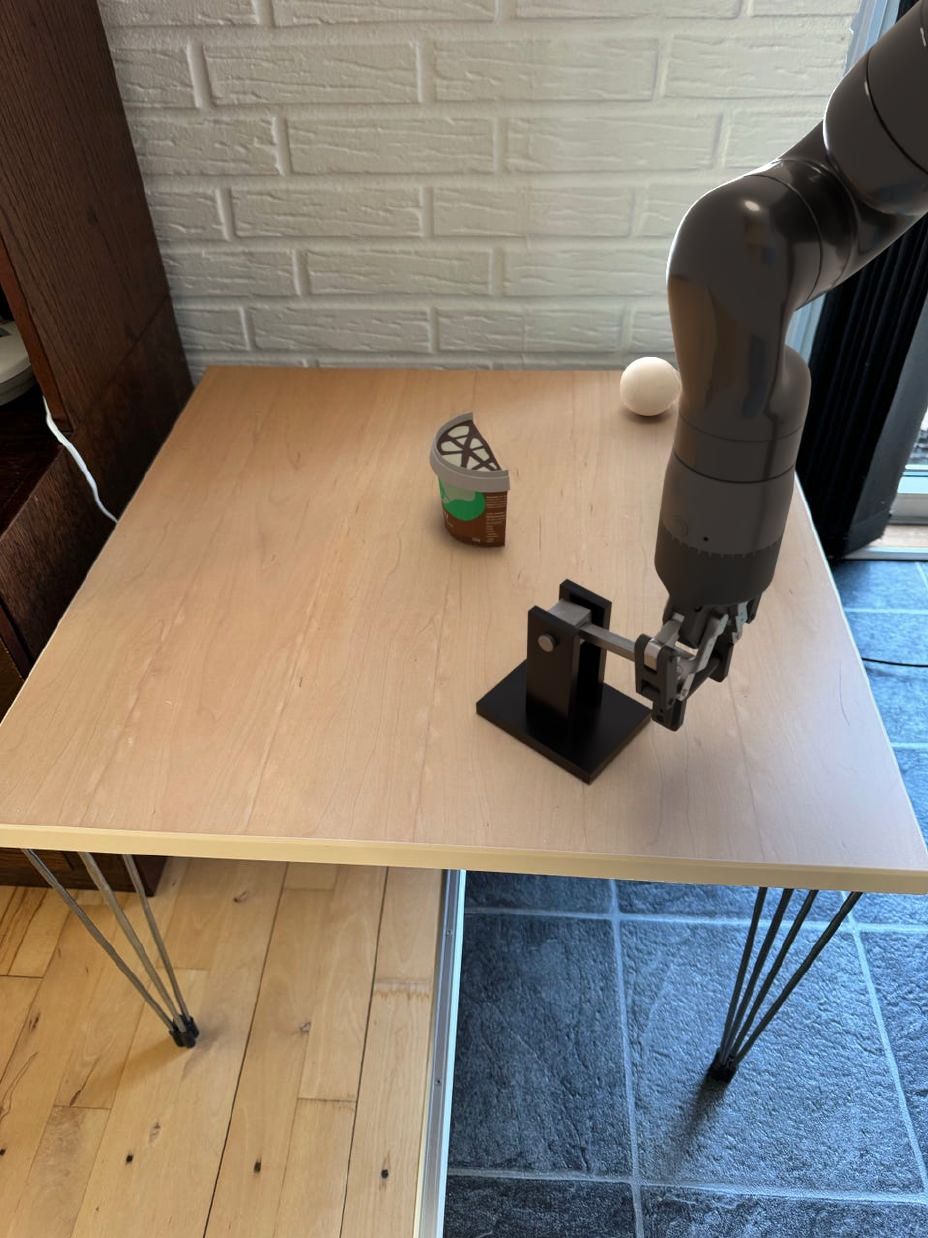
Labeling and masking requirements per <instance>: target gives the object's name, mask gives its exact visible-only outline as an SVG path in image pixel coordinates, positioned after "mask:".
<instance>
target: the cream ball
mask: <svg viewBox="0 0 928 1238" xmlns="http://www.w3.org/2000/svg"><path fill="white" fill-rule="evenodd" d="M680 389H681V380H680V375H679V372H678V371H677V369H675V368H674V367H673V366H672V365H671V364H670V362H668V361H666V360H665V359H663V358H659V357H655V356H645V357H641V358H638V359H636V360H634V361H633V362H631V363H630V364H629V365H628V366H627V367H626V368H625V369H624V371H623V373H622V375H621V378H620V382H619V392H620V393H619V394H620V397H621V400H622V402H623V403H624V405H625V406H626V407H627V409H628V410H629V411H631V412H633V413H634V414H637V415H640V416H646V417H647V416H648V417H649V416H650V417H652V416H657V415H660V414H662V413H664V412H665V411H667V410H668V409H669V408H670V407H672V405H673V404H674V402H675V400H676V399H677V397H678V395H679V394H680Z"/></svg>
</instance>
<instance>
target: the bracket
mask: <svg viewBox="0 0 928 1238" xmlns="http://www.w3.org/2000/svg"><path fill="white" fill-rule="evenodd" d="M558 586H559V587H558V601H557V602H559V601H560V600H561V599H562V598H563V599H565V600H568V601H570V602H572V603H575V604H577V605H579V606H582V607H584V608H587V609H589V610H591V618H592V624H594V625H597V626H599V627H601V628H604V629H606V630H608V631H610V627H611V618H612V607H613V602H612V601H611V600H610V599H607V598H606V597H603V596H601V595H600V594H597V593H595V592H594V591H592V590H590V589H588V588H587V587H585V586H583V585H580V584H579V583H576V582H574V581H573V580H571V579H569V578H565V579H564V580H563V581H562V582H560V584H559V585H558ZM526 622H527V625H526V626H527V627H526V658H525V659H523V661H521V663H519V664H518V665H517V666H516V667H515V668H514V669H513V670H511V671H510V672H509V673H507V675H506V676H504V677H503V678H502V679H501V680H500V681H498V683H497V684H495V685H494V686H493V687H492V688H490V690H489V691H488V692H486V693H485V694H484V695H483V696H482V697H481V698H480V699H478V700H477V701H476V702H475V712H476V714H478V715H479V716H480V717H482V718H483V719H485V720H487V721H489V722H490V723H491V724H493V725H495V726H496V727H498V728H499V729H501V730H503V731H504V732H505V733H507V734H509V735H510V736H512V737H514V738H515V739H517V740H518V741H520V742H521V743H523V744H525V745H526V746H527V747H529V748H531V749H532V750H534V751H535V752H537V753H538V754H540V755H542V756H543V757H545V758H546V759H548V760H550V761H551V762H552V763H554V764H555V765H557V766H559V767H561V768H562V769H564V771H566V772H568V773H570V774H571V775H573V776H575V778H577V779H579V780H580V781H582V782H584V783H585V784H587V785H591V783H593V781H594V780H596V778H597V777H598V776H599V775H600V774H601V772H603V771H604V770H605V769H606V767H607V766H609V764H611V762H612V761H613V760H614V759H615V758H616V757H617V756H618V755H619V754H620V753H621V752H622V751H623V750H624V749H625V748H626V746H628V745H629V743H630V742H631V741H633V739H634V738H635V737H636V736H637V735H638V734H639V733H640V732H641V731H642V730H643V729H644V728H645V727H646V726H647V725H648V724H649V722H651V721H652V718H651V712H652V708H650V707H648V706H646V705H645V704H643V703H641V702H640V701H638V700H636V699H635V698H632V697H631V696H629V695H628V694H626V693H624V692H622V691H620V690H619V689H617V688H616V687H614V686H611V685H610V684H608V683H606V682H605V675H606V666H607V657H608V650H606V649H603V648H601V647H599V646H597V645H594V644H592V643H590V642H587V641H584V642H583V643H582V644H581V645H580V639H581V629H579V628H577V627H575V626H573V625H571V624H570V623H568V622H566V621H564V620H562V619H560V618H559V617H557V616H555V615H553V614H551V613H549V612H548V610H546V609H544V608H542V607H541V606H539V605H537V604H534V605H533V606H532V607H530V609H528V611H527V621H526Z"/></svg>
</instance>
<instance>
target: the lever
mask: <svg viewBox="0 0 928 1238" xmlns="http://www.w3.org/2000/svg"><path fill="white" fill-rule="evenodd" d="M558 601H559V600H558ZM558 601H557V602H556V603H555V604H554V605H553V606H551V607H550V608H549V609H548V610H547V611H548V612H549V613H551V614H553V615H555V616H557V617H559V618H560V619H562V620H564V621H566V622H568V623H570V624H571V625H573V626H575V627H577V628H579V629H581V639H580V645H581V644H582V643H583V642H584V641H587V642H590V643H592V644H594V645H597V646H599V647H601V648H603V649H606V650H607V652H610V653H613V654H614V655H617V656H619V657H621V658H624V659H625V660H627V661H630V662H632V663H635V660H634V645H635V642H636V641H634V640H631V639H629V638H627V637H624V636H622V635H620V634H618V633H615V632H613V631H611V630H609V631H608V630H606V629H604V628H601V627H599V626H597V625H594V624H592V618H591V610H589V609H587V608H584V607H582V606H579V605H577V604H575V603H572V602H570V601H568V600H565V599H563V598H562V599H561V600H560V601H559V602H558ZM721 663H722V657H721V655H720V653H719V652H718V651H717V650H715V649H712V652H711V654H710V657H709V659H708V662H707V665H706V667H705V668H704V669H702V670H700V671H698V672H696V673H695V676H694V678H693V681H692V683H691V686H690V689H689V693H688V698H687V700H689V698H691V696H692V695H693V694H695V692H696V691H697V690H698V689H700V687H701V686H702V685H703V683H704V682H705V681H706V680H707V679H709V676H710V675H711V674H712V673H713V672H714V671H715V669H716V668H717V667H718V666H719V665H720V664H721ZM681 675H682V669H681V668H680V667H679V666H677V679H678V680H680V677H681Z"/></svg>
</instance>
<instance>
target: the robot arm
mask: <svg viewBox="0 0 928 1238" xmlns="http://www.w3.org/2000/svg"><path fill="white" fill-rule="evenodd" d="M927 213H928V0H918V1H917V2H916V3H915V4H914V5H913V6H912V7H911V8H910V9H909V10H908V11H906V13H905V14H904V15H903V16H901V17H900V18H899V20H897V21H896V23H894V25H892V26H891V27H890V28H889V29H888V30H887V31H886V32H885V33H884V34H883V35H882V36H881V37H880V38H879V39H878V40H877V41H876V42H875V43H874V44H873V45H872V46H870V47H869V49H868V50H866V52H865V53H864V54H863V55H862V56H861V57H860V58H859V59H858V60H857V61H856V63H854V64H853V66H851V68H850V69H849V70H848V71H847V72H846V73H845V75H844V76H843V77H842V79H841V80H840V81H839V82H838V83H837V85H836V87H835V88H834V90H833V91H832V93H831V95H830V97H829V100H828V102H827V104H826V108H825V112H824V116H823V118H822V119H821V120H820V121H818V123H816V124H815V126H814V127H813V128H812V129H810V131H809V132H807V133H806V134H805V135H804V136H803V137H802V138H801V139H800V140H798V141H797V142H796V143H794V144H793V145H792V146H791V147H790V148H789V149H787V150H786V151H785V152H783V153H782V154H781V155H779V156H778V157H776V158H775V159H774V160H772V161H771V162H769V163H767V164H764V165H762V166H760V167H758V168H756V169H754V170H752V171H749V172H748V173H745V174H743V175H740V176H738V177H736V178H733V179H732V180H730V181H728V182H725V183H723V184H721V185H719V186H717V187H715V188H713V189H711V190H709V191H708V192H706V193H705V194H703V195H702V196H701V197H700V198H699V199H697V200H696V201H695V202H694V203H693V204H692V205H691V206H690V207H689V209H688V210H687V211H686V213H685V215H684V216H683V217H682V219H681V221H680V223H679V226H678V227H677V230H676V232H675V235H674V237H673V240H672V244H671V247H670V251H669V255H668V259H667V264H666V265H667V266H666V274H665V275H666V277H665V278H666V281H665V284H666V285H665V287H666V299H667V306H668V312H669V320H670V326H671V327H670V328H671V334H672V340H673V341H672V342H673V349H674V355H675V361H676V365H677V370H678V374H679V377H680V383H681V389H680V392H679V393H678V401H677V409H676V410H677V411H676V417H675V423H674V424H675V425H674V434H673V441H672V445H671V446H672V447H671V451H670V455H669V458H668V461H667V464H666V468H665V472H664V478H663V485H662V493H661V502H660V508H659V517H658V525H657V534H656V543H655V550H654V559H653V562H654V563H653V565H654V568H655V572H656V574H657V576H658V578H659V579H660V581H661V582H662V584H663V586H664V588H665V590H666V591H667V593H668V597H667V599H666V602H665V604H664V608H663V614H662V624H661V626H660V630H659V631H658V632H657V633H656V634H655V635H654V637H652V636H651V635H648V634H646V633H645V632H643V633H640V635H639V636H638V637H637V638H636V640H635V641H634V642H635V645H634V660H635V662H634V683H635V684H634V685H635V686H634V687H635V693H636V694H637V695H639V696H642V697H643V698H645V699H646V700H649V701H650V702H651V703H652V707H651V709H652V712H651V721H653V722H654V723H655V724H658V725H660V726H662V727H663V728H665V729H667V730H669V731H671V732H678V730H679V729H680V728H681V727H682V726H683V724H684V720H685V716H686V715H685V713H686V709H687V702H688V699H689V698H688V693H689V689H690V686H691V683H692V681H693V678H694V676H695V673H696V672H698V671H700V670H702V669H704V668H705V667H706V665H707V662H708V659H709V657H710V654H711V652H712V649H715V650H717V651H718V652H719V653H720V655H721V657H722V663H721V664H720V665H719V666H718V667H717V668H716V669H715V671H714V672H713V673H712V674H711V675H710V676H709V677H708V679H711V680H712V681H714V682H716V683H723V681H724V680H725V679H727V677H728V676H729V673H730V667H731V663H732V657H733V653H734V649H735V645H736V644H737V643H738V642H739V641H740V640H741V638H742V636H743V632H744V627H743V626H744V624H747V625H750V624H751V623H752V622H753V621H755V619H756V616H757V613H758V609H759V606H760V602H761V599H762V596H763V593H764V592H766V590H767V589H768V588H769V587H770V585H771V584H772V583H773V580H774V576H775V573H776V568H777V563H778V559H779V555H780V551H781V546H782V542H783V538H784V533H785V529H786V525H787V521H788V516H789V512H790V508H791V504H792V500H793V494H794V488H795V475H796V463H797V458H798V454H799V451H800V446H801V441H802V437H803V433H804V428H805V423H806V419H807V415H808V411H809V404H810V398H811V389H812V378H811V371H810V368H809V366H808V363H807V361H806V360H805V359H804V357H802V355H801V354H800V353H799V352H798V351H797V350H795V349H794V348H792V347H791V346H790V345H787V344H786V341H787V340H786V339H787V334H788V330H789V327H790V325H791V324H790V323H791V321H792V318H793V315H794V313H795V312H797V311H799V310H801V309H802V308H804V307H806V306H807V305H809V304H810V303H812V302H814V301H816V300H818V299H819V298H820V297H823V296H824V295H825V294H827V293H828V292H830V291H831V290H833V289H834V288H837V287H838V286H840V285H841V284H842V283H843V282H845V281H846V280H848V279H849V278H851V277H852V276H853V275H854V274H855V273H857V272H859V271H860V270H861V269H862V268H863V267H865V266H866V265H868V264H869V263H870V262H871V261H872V260H874V259H875V258H876V257H877V256H878V255H880V254H881V253H883V251H884V250H886V249H887V248H888V247H889V246H890V245H892V244H893V243H894V242H895V241H896V240H898V239H899V238H900V237H901V236H902V235H903V234H904V233H905V232H907V231H908V230H909V229H911V227H912V226H914V224H916V223H917V222H918V221H919V220H920V219H921V218H922V217H924V215H926V214H927ZM677 642H678V643H680V644H682V645H683V646H685V647H687V648H689V649H691V650H697V651H696V652H695V653H696V654H693V653H691V652H689V651H687V650H685V649H683V648H681V647H679V646H677V645H676V643H677ZM677 666H679V667H680V668H681V669H682V675H681V677H680V680H678V679H677ZM687 698H688V699H687Z"/></svg>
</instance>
